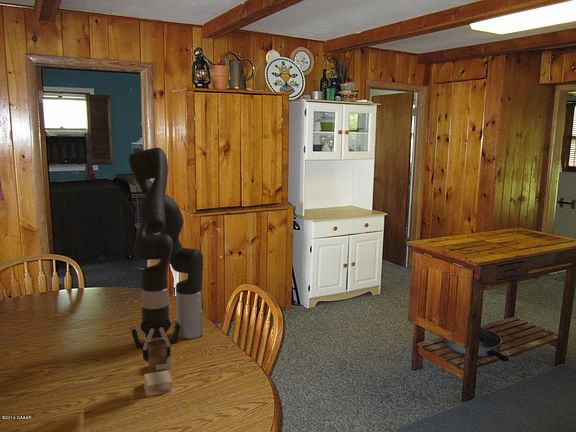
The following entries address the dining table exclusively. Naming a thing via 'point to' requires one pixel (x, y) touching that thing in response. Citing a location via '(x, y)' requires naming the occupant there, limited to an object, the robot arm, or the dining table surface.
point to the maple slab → (158, 382)
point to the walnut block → (157, 352)
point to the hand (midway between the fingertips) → (156, 358)
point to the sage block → (164, 366)
